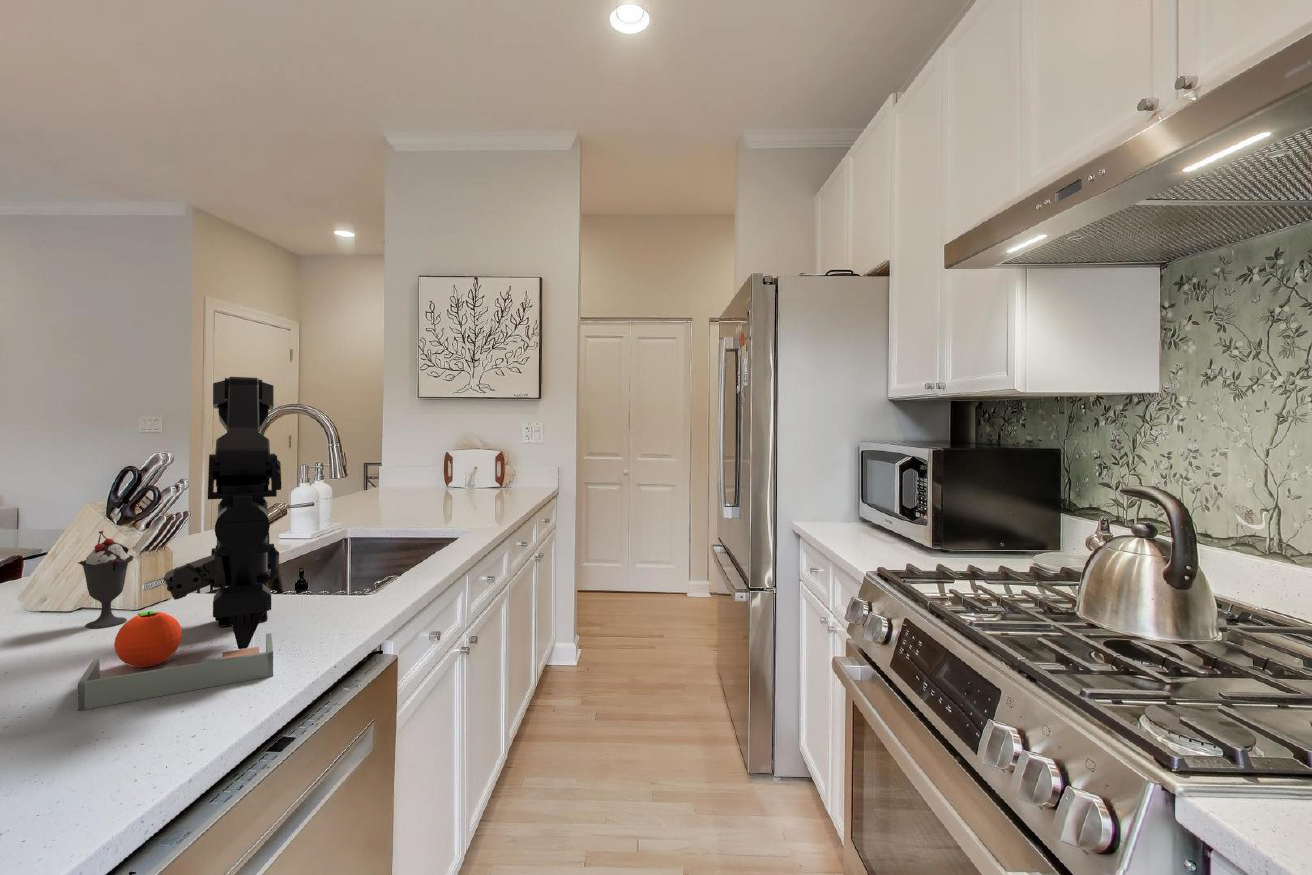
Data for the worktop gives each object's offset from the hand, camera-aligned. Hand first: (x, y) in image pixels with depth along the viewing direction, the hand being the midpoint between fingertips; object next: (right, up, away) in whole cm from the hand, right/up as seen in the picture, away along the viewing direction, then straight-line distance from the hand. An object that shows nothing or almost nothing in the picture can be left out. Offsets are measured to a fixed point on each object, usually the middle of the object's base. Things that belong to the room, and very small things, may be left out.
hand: (243, 647), depth 86 cm
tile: (+4, -1, -6) cm, 7 cm away
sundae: (-29, 0, +11) cm, 31 cm away
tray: (-1, -1, -9) cm, 9 cm away
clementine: (-10, -1, -4) cm, 11 cm away
